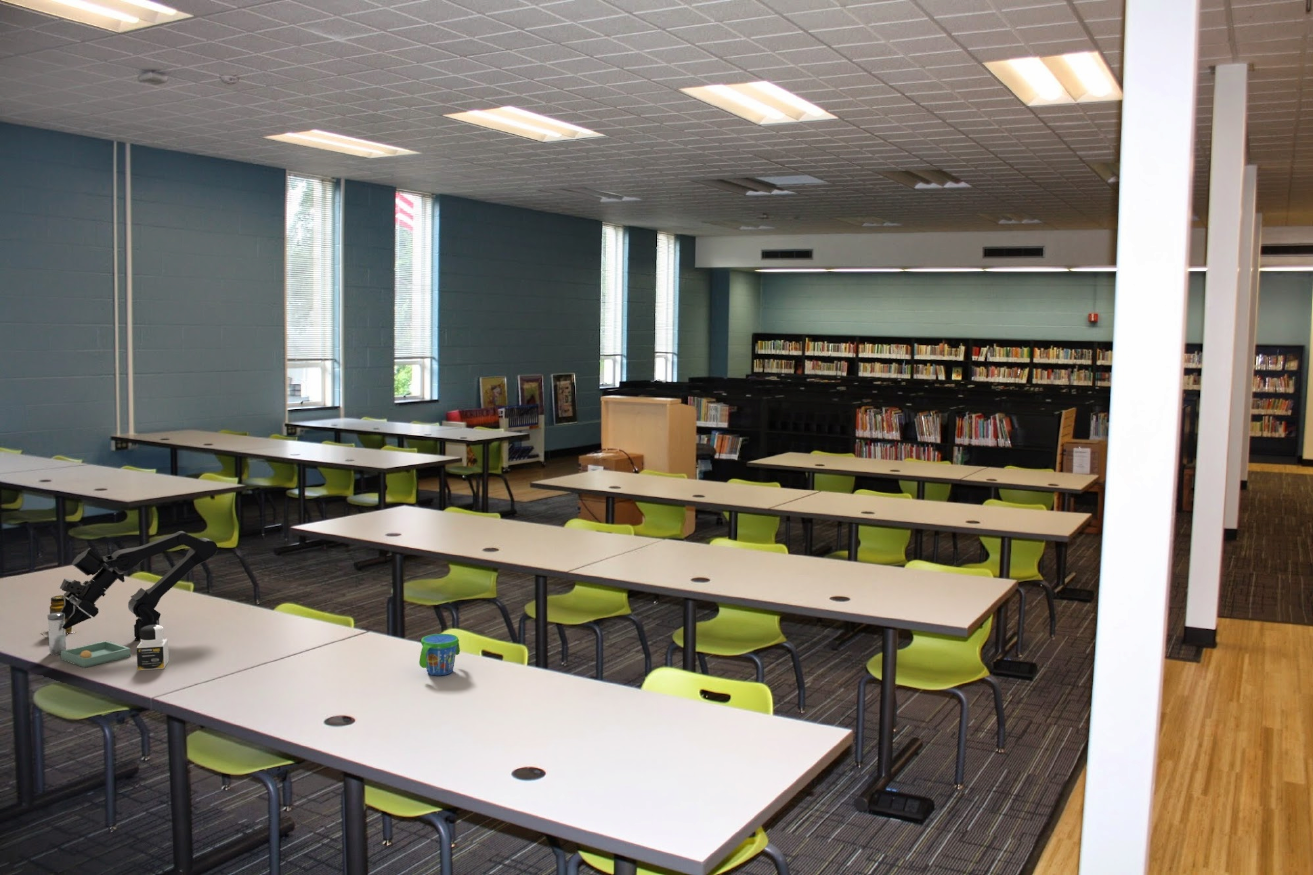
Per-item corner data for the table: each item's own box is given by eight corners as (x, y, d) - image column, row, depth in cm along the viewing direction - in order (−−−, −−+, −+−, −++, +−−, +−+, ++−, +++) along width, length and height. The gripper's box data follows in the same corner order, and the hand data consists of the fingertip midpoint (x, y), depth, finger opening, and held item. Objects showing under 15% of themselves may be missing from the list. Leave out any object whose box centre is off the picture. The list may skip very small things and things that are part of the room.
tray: (107, 648, 316) (106, 640, 316) (130, 656, 308) (130, 648, 308) (61, 659, 305) (60, 651, 304) (84, 667, 297) (84, 659, 297)
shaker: (69, 650, 314) (67, 612, 312) (63, 654, 309) (61, 616, 308) (52, 651, 313) (50, 612, 312) (46, 655, 308) (44, 616, 307)
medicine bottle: (137, 670, 295) (135, 630, 294) (142, 663, 302) (141, 623, 301) (164, 669, 297) (162, 628, 296) (168, 661, 304) (167, 622, 303)
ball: (93, 658, 304) (92, 648, 304) (89, 661, 301) (89, 651, 301) (82, 659, 303) (81, 649, 303) (78, 662, 300) (78, 652, 300)
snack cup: (446, 662, 306) (446, 629, 305) (472, 668, 300) (472, 635, 299) (407, 676, 293) (406, 641, 292) (433, 683, 287) (433, 647, 286)
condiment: (76, 633, 332) (74, 597, 331) (46, 638, 326) (44, 601, 325) (69, 628, 337) (68, 592, 336) (40, 633, 332) (39, 597, 330)
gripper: (70, 563, 320) (31, 603, 313) (85, 574, 306) (44, 616, 299) (99, 585, 326) (61, 624, 319) (115, 596, 312) (75, 637, 305)
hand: (59, 625), depth 311 cm, fingers open, 9 cm apart
